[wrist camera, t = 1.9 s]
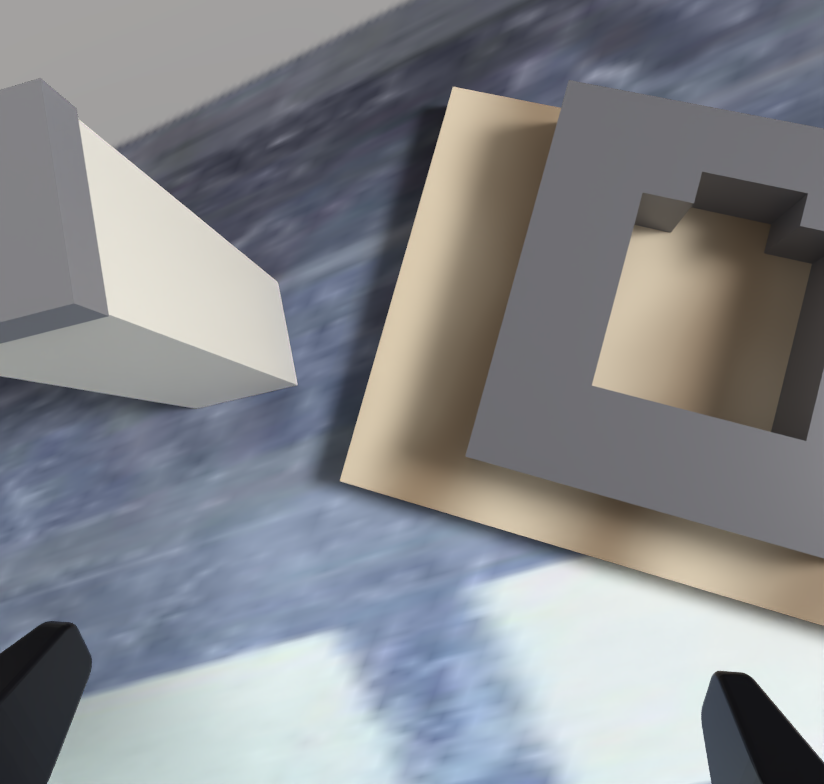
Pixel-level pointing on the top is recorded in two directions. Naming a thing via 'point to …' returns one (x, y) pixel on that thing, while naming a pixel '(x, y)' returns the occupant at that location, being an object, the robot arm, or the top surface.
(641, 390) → the board
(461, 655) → the top surface
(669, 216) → the socket
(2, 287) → the plug
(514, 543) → the top surface
